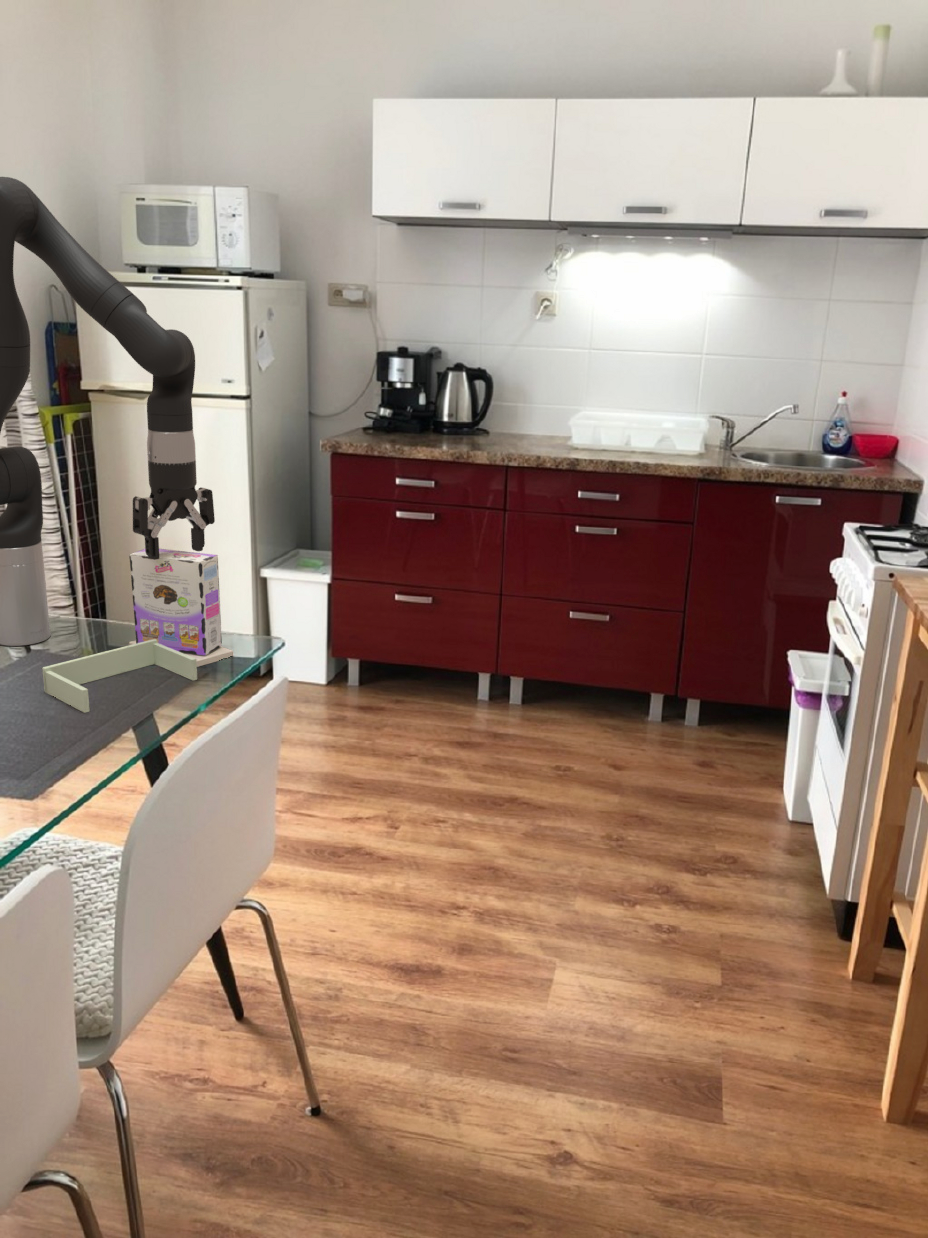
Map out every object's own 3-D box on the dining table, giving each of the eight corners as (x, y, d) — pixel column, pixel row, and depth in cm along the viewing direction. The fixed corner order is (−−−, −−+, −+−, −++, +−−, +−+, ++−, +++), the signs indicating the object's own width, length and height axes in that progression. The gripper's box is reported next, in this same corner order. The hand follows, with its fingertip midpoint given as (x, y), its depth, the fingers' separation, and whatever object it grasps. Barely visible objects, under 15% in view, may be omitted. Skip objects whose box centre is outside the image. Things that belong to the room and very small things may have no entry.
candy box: (223, 646, 179) (219, 553, 174) (205, 657, 174) (200, 561, 169) (154, 636, 183) (148, 545, 178) (134, 646, 178) (127, 552, 173)
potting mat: (129, 647, 180) (128, 642, 180) (178, 634, 188) (178, 629, 187) (183, 670, 170) (183, 665, 170) (233, 656, 178) (233, 651, 177)
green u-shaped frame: (44, 692, 160) (42, 667, 159) (156, 661, 174) (154, 638, 173) (84, 712, 153) (82, 687, 152) (197, 679, 167) (196, 655, 166)
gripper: (146, 465, 162) (152, 566, 167) (222, 456, 172) (224, 551, 177) (119, 458, 166) (125, 557, 171) (194, 450, 177) (198, 543, 182)
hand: (176, 554), depth 174 cm, fingers open, 8 cm apart
